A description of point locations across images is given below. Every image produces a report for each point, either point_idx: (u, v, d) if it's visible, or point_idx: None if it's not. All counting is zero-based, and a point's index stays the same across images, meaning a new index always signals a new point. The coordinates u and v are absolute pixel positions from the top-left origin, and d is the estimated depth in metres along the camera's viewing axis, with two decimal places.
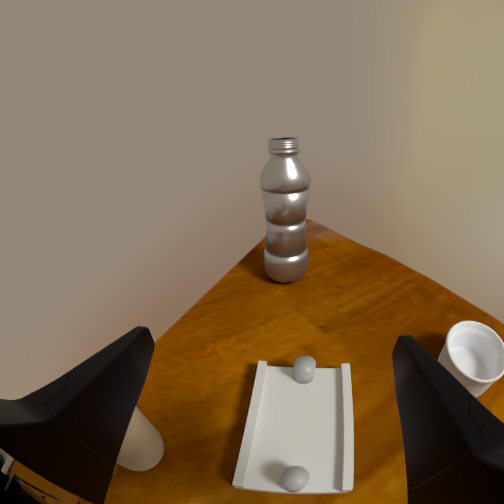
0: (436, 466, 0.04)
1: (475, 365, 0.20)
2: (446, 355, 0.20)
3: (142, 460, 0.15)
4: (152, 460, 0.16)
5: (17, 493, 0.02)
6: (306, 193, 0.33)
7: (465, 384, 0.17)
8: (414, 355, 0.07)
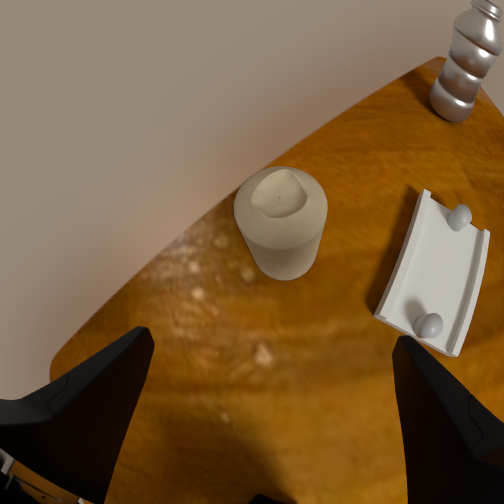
0: (436, 466, 0.04)
1: None
2: None
3: (299, 271, 0.20)
4: (305, 270, 0.21)
5: (17, 493, 0.02)
6: (496, 58, 0.13)
7: None
8: (414, 355, 0.07)
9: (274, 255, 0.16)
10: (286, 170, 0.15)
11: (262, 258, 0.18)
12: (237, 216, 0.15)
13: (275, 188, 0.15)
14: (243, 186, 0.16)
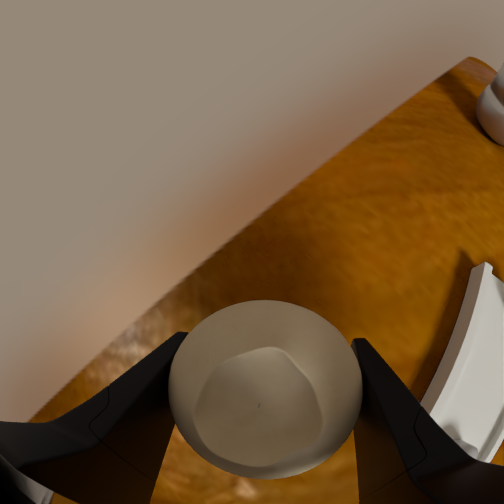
0: (382, 479, 0.04)
1: None
2: None
3: None
4: None
5: None
6: None
7: None
8: (364, 359, 0.07)
9: None
10: (277, 350, 0.06)
11: None
12: (174, 415, 0.06)
13: (251, 379, 0.06)
14: (182, 353, 0.07)
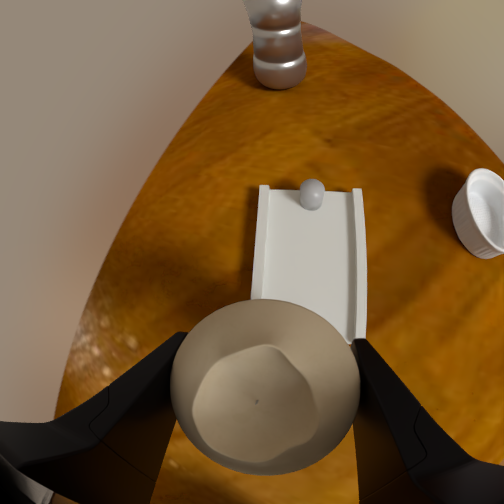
0: (381, 479, 0.04)
1: (490, 220, 0.20)
2: (465, 202, 0.18)
3: None
4: None
5: None
6: None
7: (480, 243, 0.18)
8: (364, 360, 0.07)
9: None
10: (273, 348, 0.06)
11: None
12: (176, 412, 0.07)
13: (249, 376, 0.06)
14: (183, 352, 0.07)
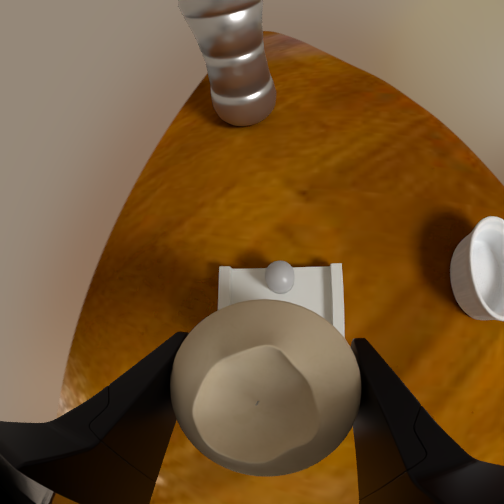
0: (381, 479, 0.04)
1: (493, 272, 0.17)
2: (466, 268, 0.16)
3: None
4: None
5: None
6: (257, 9, 0.14)
7: (480, 312, 0.15)
8: (364, 360, 0.07)
9: None
10: (274, 349, 0.06)
11: None
12: (176, 413, 0.07)
13: (249, 377, 0.06)
14: (183, 352, 0.07)
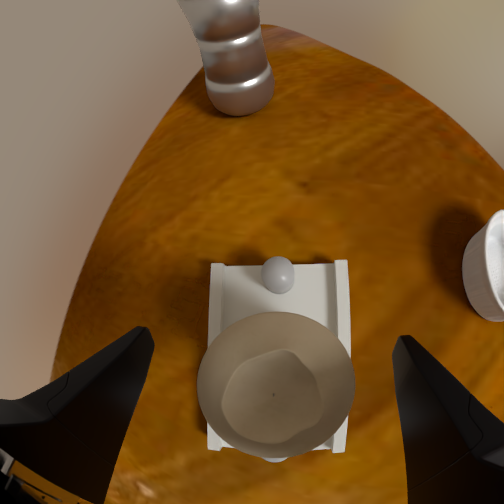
0: (436, 466, 0.04)
1: None
2: (481, 264, 0.14)
3: None
4: None
5: (17, 493, 0.02)
6: None
7: (496, 312, 0.13)
8: (414, 355, 0.07)
9: None
10: (288, 351, 0.07)
11: None
12: (202, 407, 0.08)
13: (267, 374, 0.08)
14: (210, 356, 0.09)
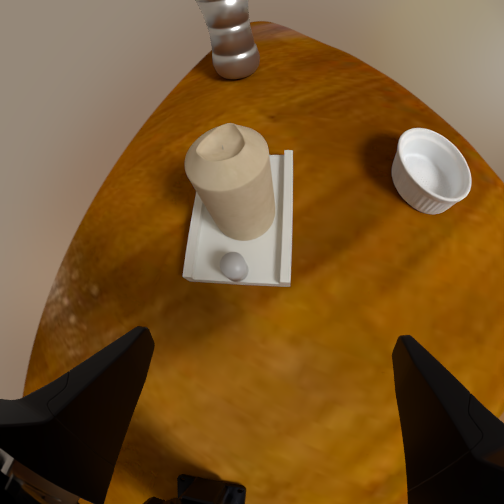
0: (435, 466, 0.04)
1: (437, 179, 0.23)
2: (397, 156, 0.22)
3: (252, 228, 0.21)
4: (260, 230, 0.22)
5: (17, 493, 0.02)
6: None
7: (418, 193, 0.21)
8: (414, 355, 0.07)
9: (217, 200, 0.17)
10: (230, 124, 0.16)
11: (211, 207, 0.18)
12: (186, 164, 0.16)
13: (221, 141, 0.16)
14: (195, 141, 0.17)
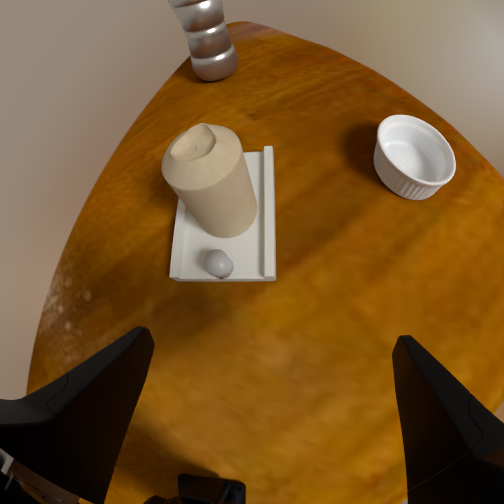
0: (436, 466, 0.04)
1: (421, 165, 0.24)
2: (377, 144, 0.22)
3: (233, 225, 0.21)
4: (242, 226, 0.23)
5: (17, 493, 0.02)
6: None
7: (401, 179, 0.21)
8: (414, 355, 0.07)
9: (194, 199, 0.17)
10: (202, 124, 0.16)
11: (190, 207, 0.19)
12: (162, 167, 0.17)
13: (194, 141, 0.16)
14: (171, 143, 0.17)
